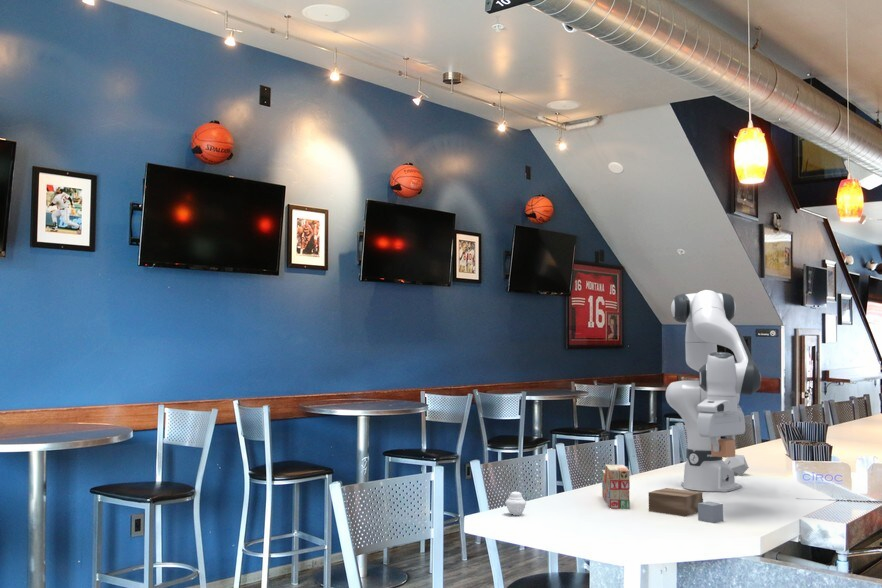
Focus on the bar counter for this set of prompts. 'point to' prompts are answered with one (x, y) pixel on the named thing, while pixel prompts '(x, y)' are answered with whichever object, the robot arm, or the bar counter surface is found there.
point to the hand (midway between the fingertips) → (723, 450)
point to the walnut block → (674, 501)
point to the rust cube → (724, 448)
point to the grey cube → (710, 512)
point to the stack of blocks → (616, 486)
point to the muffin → (515, 503)
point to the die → (737, 464)
